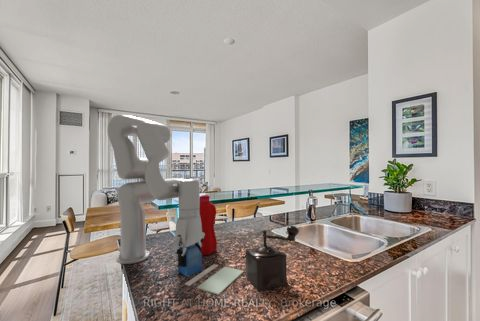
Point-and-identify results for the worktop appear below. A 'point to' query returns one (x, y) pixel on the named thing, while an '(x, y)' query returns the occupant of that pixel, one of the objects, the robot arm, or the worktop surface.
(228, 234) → the worktop surface
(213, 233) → the water bottle
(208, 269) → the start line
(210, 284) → the mat
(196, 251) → the perfume bottle
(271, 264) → the dark brown coffee grinder
